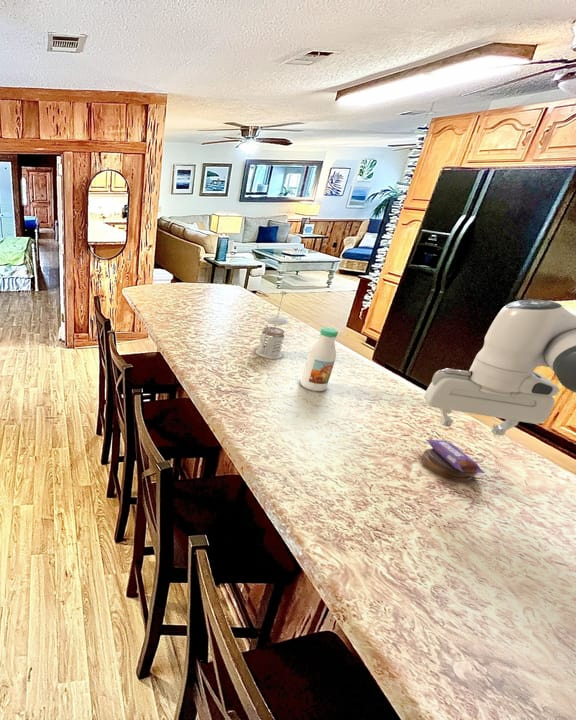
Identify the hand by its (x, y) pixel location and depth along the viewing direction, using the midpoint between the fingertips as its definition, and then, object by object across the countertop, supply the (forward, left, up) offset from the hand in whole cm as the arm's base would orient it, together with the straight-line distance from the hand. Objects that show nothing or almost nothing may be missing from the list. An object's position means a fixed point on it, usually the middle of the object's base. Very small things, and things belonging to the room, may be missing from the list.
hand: (470, 429), depth 87 cm
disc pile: (0, 0, -12) cm, 12 cm away
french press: (+40, -53, -12) cm, 68 cm away
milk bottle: (+26, -32, -12) cm, 43 cm away
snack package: (0, 0, -9) cm, 9 cm away
